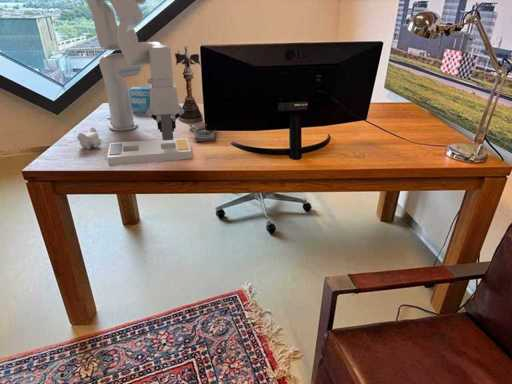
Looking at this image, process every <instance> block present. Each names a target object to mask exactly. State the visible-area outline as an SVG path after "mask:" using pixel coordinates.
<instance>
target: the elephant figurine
mask: <svg viewBox="0 0 512 384" xmlns="http://www.w3.org/2000/svg"><path fill="white" fill-rule="evenodd" d="M76 139H77V140H78V142H79V144H80V147H81V148H82V149H86V150H90V149H92V148H97V147H100V146H101V142H102V143H103V144H104V141H103V140H102V139H101V138H100V137H99V134H98V132H97V129H96V128H95V127H91V128H90V129H89V132H86V133H84V134H83V133H81V132H80V133H78V135H77V137H76Z"/></svg>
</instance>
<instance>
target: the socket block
mask: <svg viewBox="0 0 512 384" xmlns="http://www.w3.org/2000/svg"><path fill="white" fill-rule="evenodd" d="M191 149H192V148H191V147H190V143H189V141H188V138H187V137H181V138H173V140H165V141H163V139H153V140H137V141H133V140H132V141H120V142H118V141H117V142H110V143H109V147H108V151H107V163H108V166H113V165H124V164H139V163H140V164H141V163H150V162H151V163H152V162H163V161H175V160H188V159H189V160H190V159H192V150H191Z"/></svg>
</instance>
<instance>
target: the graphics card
mask: <svg viewBox="0 0 512 384" xmlns="http://www.w3.org/2000/svg"><path fill="white" fill-rule="evenodd" d="M188 126H189V131H194V134H193V135H194V136H193V138H194V141H203V142H204V141H215V139H216V131H205V126H206V125H205V124H204V123H190V124H188ZM190 127H191V128H190Z"/></svg>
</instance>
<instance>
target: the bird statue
mask: <svg viewBox="0 0 512 384" xmlns="http://www.w3.org/2000/svg"><path fill="white" fill-rule="evenodd" d="M180 52H181V50H180V49H179V48H177V51H176V52H174V57H175V60H176V61H175V62H176V63H175V65H176V66H177V65H178V64H181V65H184V69H183V72H182V75H183V79H184V80H185V82H186V83H185V89H186V94H187V95H186V97H184V103H183V105H182V106H181V107H182V109H183V110H184V113H183V114H182V115H180V116H179V117H178V118H177V120H178V121H179V122H182V123H185V124H186V123H189V124H196V123H198V122H201V120H203V114H202V113H201V110H200V106H199V105H198V104H197V102H196V100H195V98H194V96H193V91H192V90H193V87H192V80H193V79H194V72H193V70H192V68H191V65H196V64H198V65H200V66H202V65H201V62H200V54H199V53H197V52H195V53H189V47H188V46H187V45H184V52H185V53H180Z"/></svg>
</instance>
